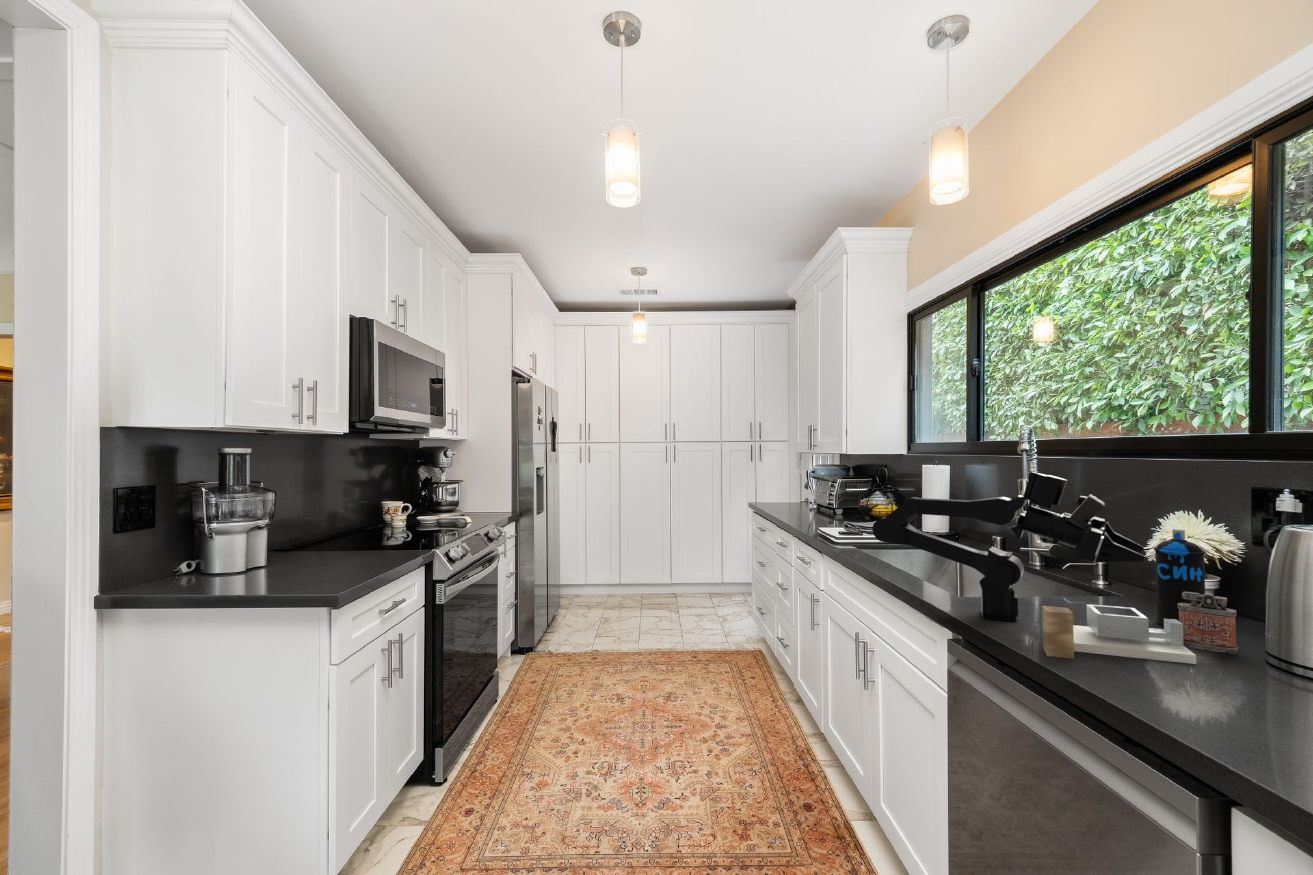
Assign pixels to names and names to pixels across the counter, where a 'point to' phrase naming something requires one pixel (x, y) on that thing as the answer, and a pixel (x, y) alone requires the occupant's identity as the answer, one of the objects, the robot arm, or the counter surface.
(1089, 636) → the bracket board
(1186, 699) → the counter surface
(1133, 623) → the bracket
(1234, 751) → the counter surface
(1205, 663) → the counter surface
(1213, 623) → the lighter
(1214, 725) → the counter surface
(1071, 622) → the oak rail post
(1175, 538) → the aerosol can
